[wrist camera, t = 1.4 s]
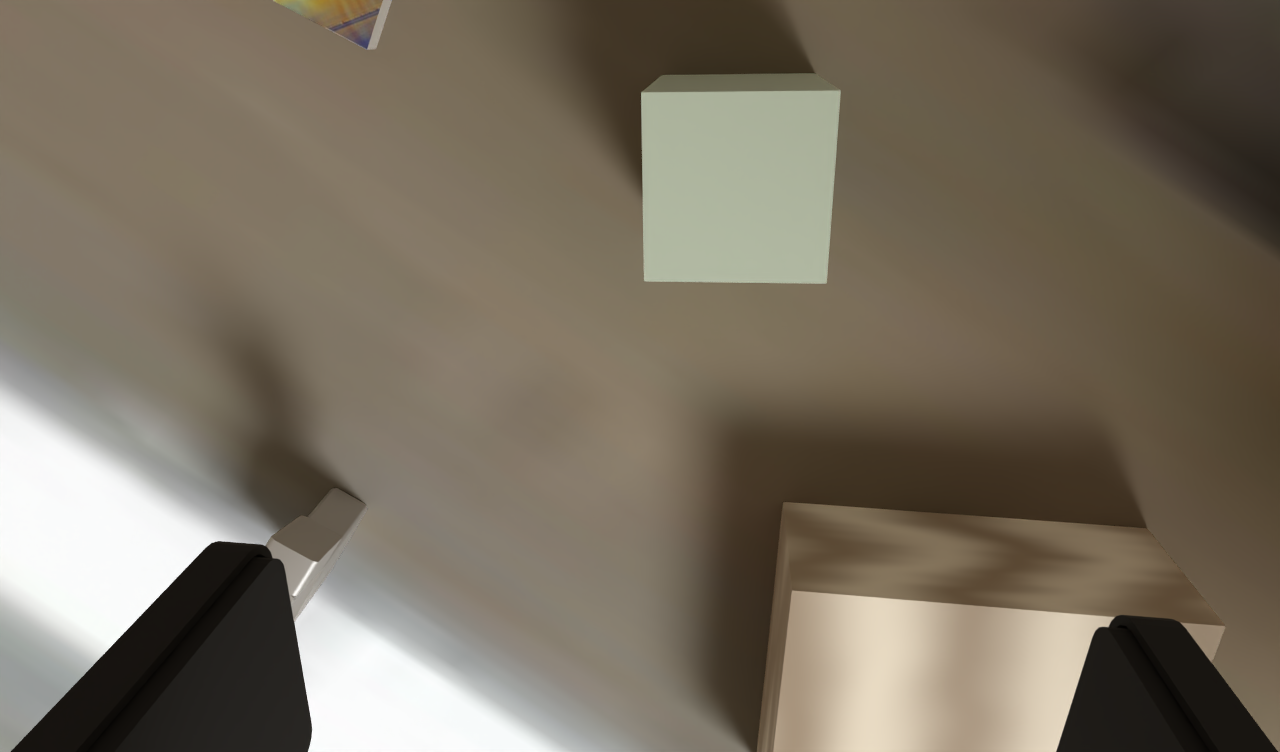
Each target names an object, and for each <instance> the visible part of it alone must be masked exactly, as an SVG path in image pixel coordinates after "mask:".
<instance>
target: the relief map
mask: <svg viewBox="0 0 1280 752" xmlns="http://www.w3.org/2000/svg"><path fill="white" fill-rule="evenodd" d="M273 1H275V2H277V3H279V4H281V5H283V6H285V7H286V8H288V9H290V10H292V11H294V12H296V13H298V14H300V15H302V16H304V17H306V18H308V19H309V20H311V21H313V22H315V23H317V24H319V25H321V26H323V27H325V28H326V29H328V30H330V31H332V32H334V33H336V34H338V35H340V36H342V37H344V38H345V39H347V40H349V41H351V42H353V43H355V44H357V45H359V46H361V47H363V48H365V49H367V50H370V49H376V47H377V44H378V41H379V38H380V35H381V32H382V29H383V26H384V23H385V20H386V17H387V14H388V11H389V8H390V5H391V2H392V0H273Z"/></svg>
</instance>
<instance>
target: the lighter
mask: <svg viewBox="0 0 1280 752" xmlns="http://www.w3.org/2000/svg"><path fill="white" fill-rule="evenodd" d="M366 511H367V507H366V504H364V503H363V502H361V501H359V500H357V499H355V498H354V497H352V496H350V495H348V494H347V493H345V492H343V491H341V490H340V489H338V488H332V489H331V490H330V491H329V492H328V493H327V494H326V496H325V497H324V498H323V499H322V500H321V501H320V503H319V504H318V505H317V506H316V507H315V509H314V510H313V511H312V512H311V513H310V514H309V516H308V517H306V516H303V515H300V516H299V517H298V518H296V519H295V520H293V521H292V522H291V523H289V524H288V525H287V526H285V527H284V528H282V529H281V530H280V531H278V532H277V533H275V534H274V535H273V536H271V538H270V539H269V541H268V542H267V544H266V547H267V548H268V549H269V550H270V552H271V554H272V558H277V559H280V560H281V561H282V563H283V564H284V568H285V572H286V578H287V584H288V590H289V596H290V601H291V607H292V613H293V619H294V622H295V621H296V619H297V618H298V616H299V615H300V614H301V612H302V611H303V609H304V608H305V607H306V605H307V604H308V603H309V601H310V600H311V598H312V597H313V596H314V594H315V593H316V591H317V590H318V589H319V587H320V586H321V585H322V583H323V582H324V580H325V579H326V578H327V576H328V575H329V573H330V572H331V571H332V569H333V568H334V566H335V564H336V563H337V561H338V559H339V557H340V556H341V554H342V552H343V550H344V549H345V547H346V545H347V544H348V542H349V540H350V538H351V537H352V535H353V533H354V531H355V530H356V528H357V526H358V525H359V523H360V521H361V519H362V518H363V516H364V514H365V512H366Z"/></svg>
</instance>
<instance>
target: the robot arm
mask: <svg viewBox="0 0 1280 752" xmlns="http://www.w3.org/2000/svg"><path fill="white" fill-rule="evenodd" d="M311 735H312V724H311V718H310V712H309V706H308V700H307V695H306V689H305V683H304V677H303V671H302V665H301V660H300V654H299V648H298V642H297V636H296V630H295V625H294V619H293V613H292V607H291V601H290V596H289V590H288V584H287V578H286V572H285V568H284V564H283V563H282V561H281V560H280V559H277V558H272V554H271V552H270V550H269V549H268V548H267V547H266V546H264V545H259V544H246V543H234V542H222V541H218V542H214V543H211V544H210V545H209V546H208V547H206V548H205V549H204V550H203V551H202V552H201V553H200V554H199V556H198V557H197V558H196V559H195V560H194V561H193V562H192V563H191V564H190V565H189V566H188V567H187V568H186V569H185V570H184V571H183V572H182V573H181V574H180V575H179V576H178V577H177V578H176V580H175V581H174V582H173V583H172V584H171V585H170V586H169V587H168V588H167V589H166V590H165V591H164V592H163V593H162V594H161V595H160V596H159V597H158V598H157V599H156V600H155V601H154V603H153V604H152V605H151V606H150V607H149V608H148V609H147V610H146V611H145V612H144V613H143V614H142V615H141V616H140V617H139V618H138V619H137V620H136V621H135V622H134V623H133V624H132V626H131V627H130V628H129V629H128V630H127V631H126V632H125V633H124V634H123V635H122V636H121V637H120V638H119V639H118V640H117V641H116V642H115V643H114V644H113V645H112V646H111V647H110V648H109V650H108V651H107V652H106V653H105V654H104V655H103V656H102V657H101V658H100V659H99V660H98V661H97V662H96V663H95V664H94V665H93V666H92V667H91V668H90V669H89V670H88V671H87V673H86V674H85V675H84V676H83V677H82V678H81V679H80V680H79V681H78V682H77V683H76V684H75V685H74V686H73V687H72V688H71V689H70V690H69V691H68V692H67V693H66V694H65V696H64V697H63V698H62V699H61V700H60V701H59V702H58V703H57V704H56V705H55V706H54V707H53V708H52V709H51V710H50V711H49V712H48V713H47V714H46V715H45V716H44V717H43V718H42V720H41V721H40V722H39V723H38V724H37V725H36V726H35V727H34V728H33V729H32V730H31V731H30V732H29V733H28V734H27V735H26V736H25V737H24V738H23V739H22V740H21V741H20V743H19V744H18V745H17V746H16V747H15V748H14V749H13V750H12V751H11V752H308V749H309V746H310V741H311ZM1056 752H1278V751H1277V750H1276V749H1275V747H1274V746H1273V745H1272V743H1271V742H1270V740H1269V739H1268V738H1267V736H1266V735H1265V734H1264V732H1263V731H1262V730H1261V728H1260V727H1259V726H1258V724H1257V723H1256V722H1255V720H1254V719H1253V718H1252V716H1251V715H1250V714H1249V712H1248V711H1247V710H1246V708H1245V707H1244V706H1243V704H1242V703H1241V702H1240V700H1239V699H1238V698H1237V696H1236V695H1235V694H1234V692H1233V691H1232V690H1231V688H1230V687H1229V686H1228V684H1227V683H1226V682H1225V680H1224V679H1223V678H1222V676H1221V675H1220V673H1219V672H1218V671H1217V669H1216V668H1215V667H1214V665H1213V664H1212V663H1211V661H1210V660H1209V659H1208V657H1207V656H1206V655H1205V653H1204V652H1203V651H1202V649H1201V648H1200V647H1199V645H1198V644H1197V643H1196V641H1195V640H1194V639H1193V637H1192V636H1191V635H1190V633H1189V632H1188V631H1187V629H1186V628H1185V627H1184V626H1183V625H1182V624H1181V623H1180V622H1179V621H1176V620H1174V619H1168V618H1156V617H1143V616H1131V615H1119V616H1116V617H1115V618H1114V619H1113V620H1112V621H1111V623H1110V625H1109V627H1099V628H1098V629H1097V630H1096V631H1095V633H1094V635H1093V637H1092V640H1091V643H1090V646H1089V650H1088V653H1087V656H1086V659H1085V662H1084V665H1083V668H1082V672H1081V675H1080V678H1079V681H1078V684H1077V687H1076V691H1075V694H1074V697H1073V700H1072V703H1071V706H1070V710H1069V713H1068V716H1067V719H1066V722H1065V725H1064V729H1063V732H1062V735H1061V738H1060V741H1059V744H1058V748H1057V751H1056Z"/></svg>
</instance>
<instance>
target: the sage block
mask: <svg viewBox="0 0 1280 752" xmlns="http://www.w3.org/2000/svg"><path fill="white" fill-rule="evenodd" d="M840 93H841V90H839V89H838V88H836V87H835V86H833V85H832V84H830V83H829V82H827V81H826V80H824V79H823V78H822V77H820V76H819V75H817V74H816V73H790V74H706V75H661V76H660V77H659V78H658V79H657V80H655V81H654V82H653V83H652V84H651V85H649V86H648V87H647V88H646V89H645V90H643V91H642V92H641V117H642V180H643V244H644V281H658V282H737V283H817V284H827V271H828V257H829V244H830V230H831V216H832V203H833V189H834V175H835V162H836V148H837V134H838V121H839V107H840Z"/></svg>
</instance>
